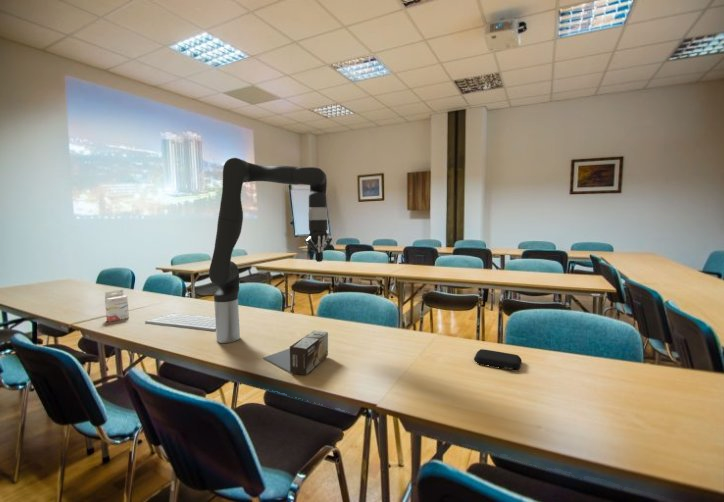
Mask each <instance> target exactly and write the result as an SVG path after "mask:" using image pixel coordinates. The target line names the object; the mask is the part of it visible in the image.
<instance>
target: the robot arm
mask: <svg viewBox="0 0 724 502" xmlns="http://www.w3.org/2000/svg"><path fill="white" fill-rule="evenodd" d="M222 167H223V168H222V188H221V192H222V193H221V198H220V205H219V211H218V212H219V213H218V218H217V224H216V225H217V227H216V236H215V239H214V240H215V242H214V249H213V253H212V258H211V262H210V265H209V270H208V277H209V279H210V281H211V283H212V284H213V285H215V286H217V289H216V291H215V293H214V295H213V301H214V303H213V304H214V316H215V321H216V331H215V332H216V333H215V334H216V342H217V343H220V344H227V343H228V344H229V343H233V342H237V341H238V340H240V338H241V333H240V331H241V330H240V328H241V327H240V314H239V291H240V271H239V267H238V266H237V264H236V263H235V262H233V261H232V260H231V259H232V254H233V251H234V248H235V246H236V245H237V242H238V241H239V239H240V236H241V232H242V227H243V222H244V211H243V210H244V209H243V203H242V190H243V184H244V183H251V182H252V183H253V182H268V183H269V182H270V183H277V184H286V185H307V186H309V195H308V213H307V214H308V230H309V234H308V238H307V239H304V243H305V245H307V247H308V249H309V250H310V251H311V252H314V254H315V255H314V257H315V258H314V260H315V261H316V262H319V263H321V262H323V261H324V252H325V251H327V250H328V248H329V247H330V244H331V243H332V241H333V238H332V237H329V235H328V210H327V185H328V183H327V182H328V181H327V180H328V179H327V175H326V173H325V171H323V170H322V169H321V168H318V167H313V166H301V167H299V166H291V165H261V164H255V163H251V162H248V161H246V160H244V159H241V158H238V157H229V158H228V159H227V160H225V163H224V164H223V166H222Z"/></svg>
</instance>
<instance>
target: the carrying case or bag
mask: <svg viewBox="0 0 724 502" xmlns="http://www.w3.org/2000/svg"><path fill="white" fill-rule="evenodd" d="M473 360H474V362H475V363H476V362H477V363H479V364H478V365H480V364H484V365H483V366H485V365H489V366H488V367H490V366H494V367H493V368H495V367H499V368H498V369H501V368H504V369H503V370H506V371H507V370H508V371H512V370H517V371H518V370H520V369H521V366H522V358H521V357H520V356H519V354H516V353H514V354H513V353H508V352H501V351H497V350H490V349H484V348H481V349H479V350H478V351H476V353H475V356H474V358H473ZM477 363H476V364H477Z"/></svg>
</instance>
